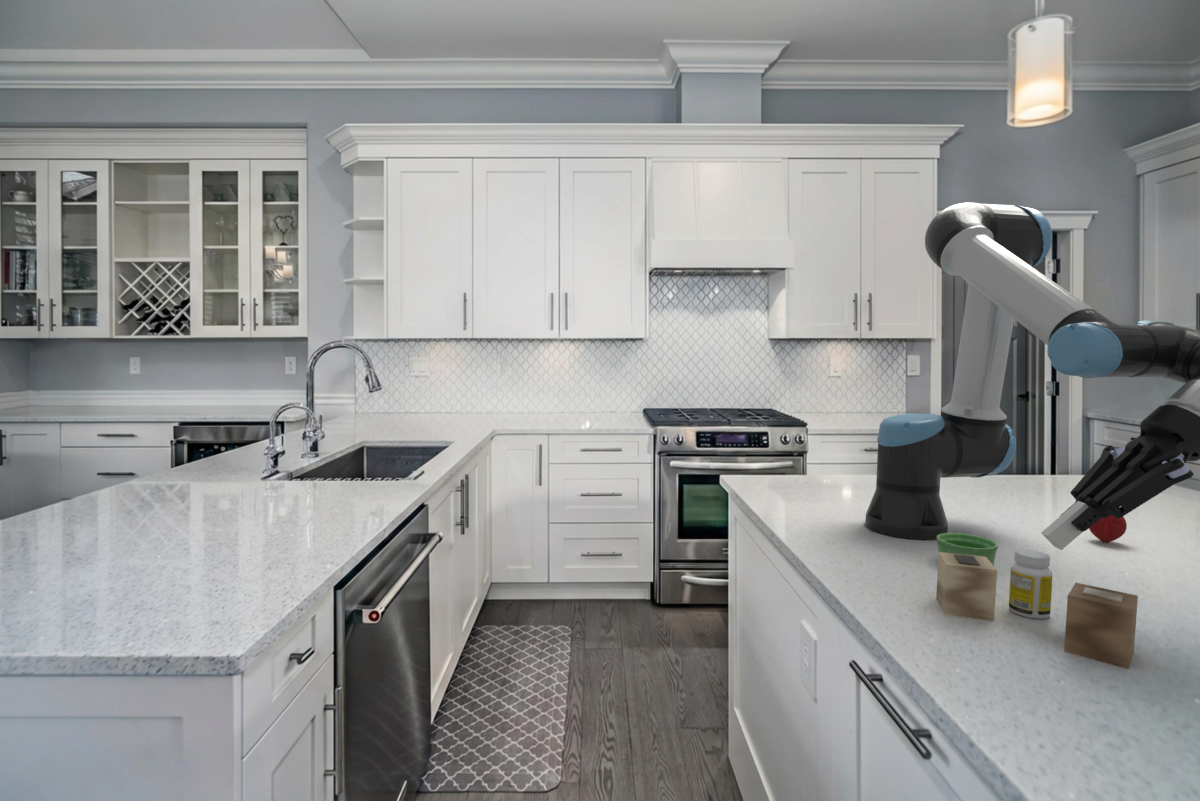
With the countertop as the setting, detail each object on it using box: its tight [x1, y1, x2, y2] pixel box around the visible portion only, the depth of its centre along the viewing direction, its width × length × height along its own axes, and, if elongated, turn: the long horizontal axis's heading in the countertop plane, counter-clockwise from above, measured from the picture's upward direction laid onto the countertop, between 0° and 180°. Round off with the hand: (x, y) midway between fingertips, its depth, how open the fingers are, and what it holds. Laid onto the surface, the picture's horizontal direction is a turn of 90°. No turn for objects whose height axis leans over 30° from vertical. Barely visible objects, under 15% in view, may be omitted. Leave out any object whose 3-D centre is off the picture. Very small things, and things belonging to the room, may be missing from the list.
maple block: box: [935, 552, 998, 622], centre depth 88 cm, size 6×6×7 cm
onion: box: [1088, 515, 1128, 544], centre depth 120 cm, size 6×6×8 cm
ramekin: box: [936, 532, 999, 567], centre depth 107 cm, size 9×9×4 cm
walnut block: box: [1063, 582, 1139, 670], centre depth 75 cm, size 6×6×7 cm
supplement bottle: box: [1008, 548, 1054, 620], centre depth 87 cm, size 5×5×8 cm
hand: (1051, 541), depth 86 cm, fingers closed
